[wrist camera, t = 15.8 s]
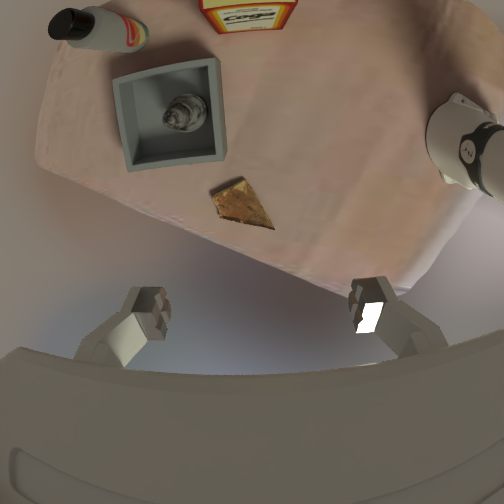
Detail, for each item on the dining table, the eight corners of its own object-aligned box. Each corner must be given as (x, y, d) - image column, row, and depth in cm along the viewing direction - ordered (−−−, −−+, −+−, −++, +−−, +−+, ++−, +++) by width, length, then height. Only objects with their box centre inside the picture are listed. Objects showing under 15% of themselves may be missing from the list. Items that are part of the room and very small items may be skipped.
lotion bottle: (154, 23, 28) (88, -5, 12) (144, 54, 32) (72, 45, 15) (123, 22, 27) (48, 4, 11) (114, 52, 31) (34, 50, 14)
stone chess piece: (206, 88, 35) (189, 90, 25) (213, 124, 38) (199, 139, 28) (169, 97, 35) (140, 104, 26) (177, 131, 39) (151, 150, 29)
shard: (274, 225, 50) (275, 230, 49) (238, 241, 52) (237, 247, 51) (246, 176, 45) (246, 179, 43) (208, 195, 47) (206, 200, 46)
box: (220, 61, 33) (214, 57, 28) (227, 150, 42) (223, 160, 37) (128, 78, 34) (112, 79, 29) (141, 161, 42) (127, 172, 37)
